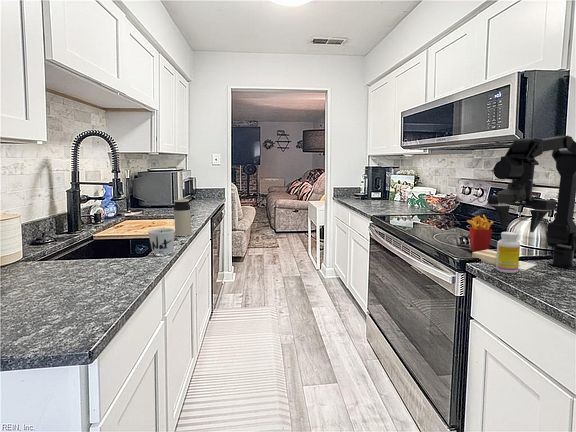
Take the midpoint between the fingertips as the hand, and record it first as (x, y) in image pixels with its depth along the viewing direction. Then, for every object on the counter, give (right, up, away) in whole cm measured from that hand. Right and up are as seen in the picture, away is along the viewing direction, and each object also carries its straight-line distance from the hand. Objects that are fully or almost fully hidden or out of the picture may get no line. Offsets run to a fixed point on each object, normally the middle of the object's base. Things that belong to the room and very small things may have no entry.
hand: (517, 229), depth 126 cm
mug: (-123, -11, +41) cm, 130 cm away
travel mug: (-124, -6, +78) cm, 147 cm away
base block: (+3, -12, +23) cm, 26 cm away
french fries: (+4, -10, +35) cm, 37 cm away
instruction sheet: (+10, -13, +16) cm, 22 cm away
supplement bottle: (+2, -14, +9) cm, 17 cm away
